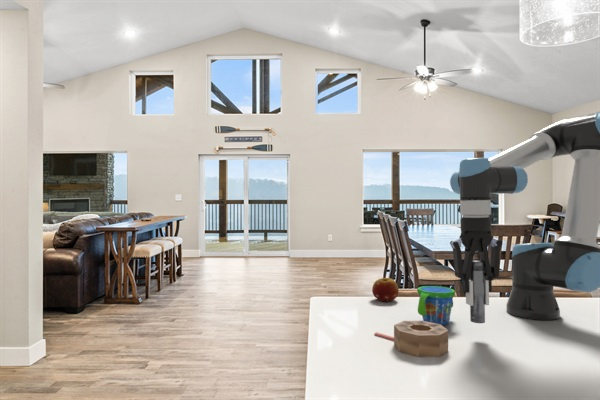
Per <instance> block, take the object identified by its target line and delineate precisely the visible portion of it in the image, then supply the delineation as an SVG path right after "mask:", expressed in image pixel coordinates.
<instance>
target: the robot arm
mask: <svg viewBox="0 0 600 400" xmlns="http://www.w3.org/2000/svg"><path fill="white" fill-rule="evenodd" d="M565 155H567V156H568V155H570V157H571V158H572V159H573V160H574V164H573V172H572V176H571V180H570V181H571V183H570V186H569V193H568V199H567V204H566V209H565V214H564V221H563V224H562V225H563V226H562V231H561V236H560V237H558V238H557V239H555V240H554V242H553V243H552V242H535V243H534V242H533V243H516V244H514V245H513V247H512V254H511V279H512V280H511V281H512V283H511V284H512V285H511V291H510V294H509V296H508V299H507V302H506V312H507V313H508V314H510V315H511V316H512V315H513V316H515V317H519V318H522V319H528V320H529V319H530V320H538V321H539V320H540V321H545V320H546V321H553V320H558V319H560V317H561V311H560V307H559V304H558V301H557V299H556V298H557V297H556V295H555V293H554V287H556V288H561V289H565V290H570V291H572V292H582V293H592V292H595V291H597V290H598V289H599V288H600V245H599V244H598V242H597V238H598V231H599V228H600V227H599V226H600V111H597V112H595V113H590V114H585V115H580V116H574V117H568V118H565V119H562V120H559V121H557V122H555V123H553V124H550V125H548V126H546V127H544V128H542V129H541V130H538V131H537V132H535V133H532V134H531V135H530V136H529V138H528V139H527V140H525V141H523V142H521V143H519V144H517V145H515V146H513V147H510V148H508V149H507V150H505V151H503V152H501V153H499V154H496V155H494V156H492V157H490V158H487V157H471V158H464V159H462V160H461V161H460V162H459V168H458V169H459V170H457V171H455V172H454V173H453V174H452V175H451V177H450V179H449V180H450V181H449V185H450V187H451V190H452V191H453V192H454V193H455V194H457V195H459V204H460V205H459V207H460V210H459V211H460V216H461V218H460V235H459V238H458V239H455V240H451V241H450V242H449V244H450V246H451V248H452V254H453V255H452V256H453V268H454V269H453V270H454V276H455V277H456V278H458V279H461V281H462V282H461V283H462V285H461V286H462V291H463V292H464V293H465V304H466V305H469V307H470V306H473V281H472V280H470V275H471V269H472V262H473V260H474V256H475V254H476V252H477V253H478V255H479V261H484V293H485V306H490V293H491V292H492V291H493V290H492V289H493V288H492V287H493V286H492V285H493V284H492V282H493V281H494V280H495V278H499V276H500V261H501V260H500V258H501V253H500V252H501V248H502V246H503V240H501V239H496V238H494V237H493V235H492V218H491V217H490V215H492V207H491V206H492V205H491V197H492V196H491V195H492V194H494V195H495V194H496V195H497V194H499V195H501V194H510V195H513V194H518V193H522V192H523V191H524V190H525V189H526V187H527V186H528V180H529V179H528V173H527V172H526V170H525V169H526V168H528V167H530V166H532V165H533V164H535V163H538V162H540V161H547V160H551V159H552V158H555V157H560V156H565ZM462 245H463V247H464V259H463V258H462V255H463V254H462ZM489 245H490V246H491V247H490V246H489ZM488 247H490V258H489V249H488Z"/></svg>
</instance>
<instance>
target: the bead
mask: <svg viewBox="0 0 600 400" xmlns="http://www.w3.org/2000/svg"><path fill="white" fill-rule="evenodd" d="M393 337H394V341H393V345H394V347H396V349H397V350H398V352H399V353H403V354H408V355H411V356H414V357H417V358H418V357H419V358H420V357H421V358H424V357H425V358H427V357H429V358H431V357H432V358H433V357H435V358H436V357H441V356H443V355H444V354H445V353H447V352H449V329H447V328H446V327H444V325H440V324H436V323H431V322H426V321H423V320H402V321H400V322H398V323H394V325H393Z"/></svg>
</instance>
